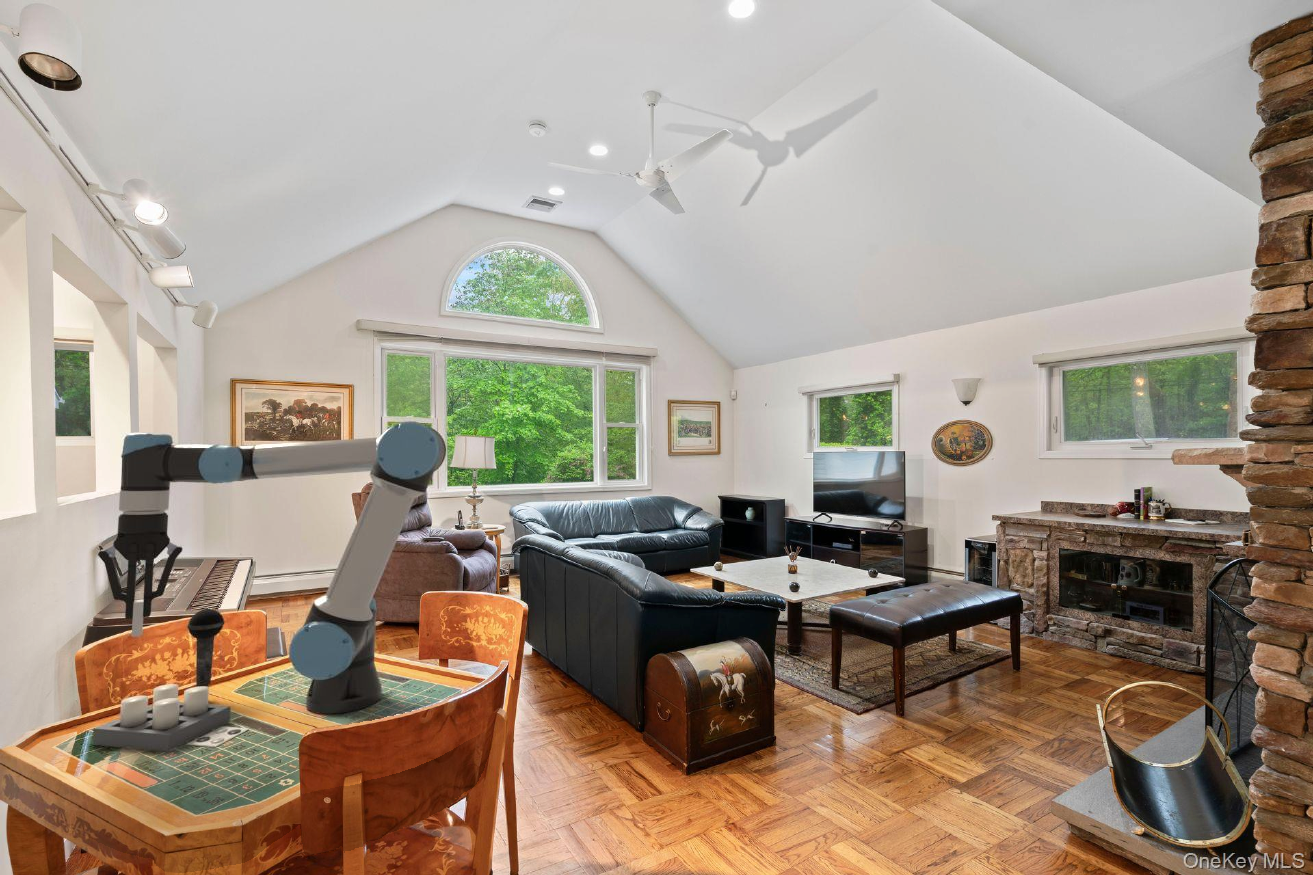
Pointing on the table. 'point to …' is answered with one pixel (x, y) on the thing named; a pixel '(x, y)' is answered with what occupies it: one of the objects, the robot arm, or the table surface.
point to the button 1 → (133, 711)
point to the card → (218, 736)
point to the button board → (161, 739)
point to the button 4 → (195, 701)
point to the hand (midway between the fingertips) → (137, 634)
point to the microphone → (205, 641)
